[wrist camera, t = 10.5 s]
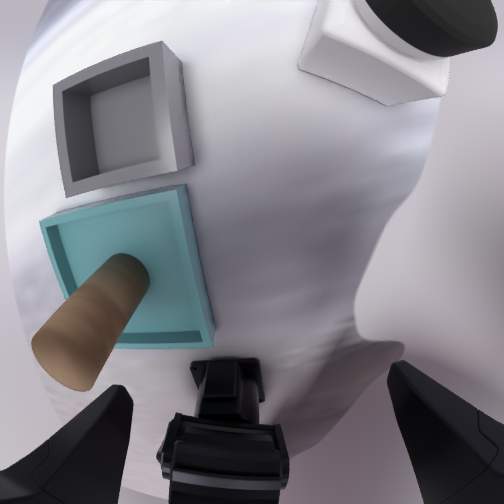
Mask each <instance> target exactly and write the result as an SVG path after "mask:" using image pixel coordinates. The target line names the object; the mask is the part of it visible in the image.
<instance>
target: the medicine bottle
mask: <svg viewBox="0 0 504 504" xmlns="http://www.w3.org/2000/svg"><path fill="white" fill-rule="evenodd" d="M497 28H498V23H497V17H496V13H495V10H494V7H493V5H492V2H491V0H318V3H317V6H316V9H315V12H314V15H313V19H312V22H311V25H310V28H309V31H308V34H307V37H306V40H305V43H304V47H303V50H302V53H301V56H300V59H299V62H298V67H299V69H301V70H303V71H306V72H309V73H312V74H315V75H318V76H320V77H323V78H326V79H328V80H331V81H333V82H336V83H338V84H341V85H343V86H346V87H348V88H350V89H353V90H355V91H357V92H359V93H362V94H364V95H366V96H368V97H370V98H372V99H374V100H376V101H378V102H380V103H382V104H384V105H387V106H391V105H396V104H401V103H406V102H411V101H417V100H423V99H429V98H436V97H442V96H444V95H446V93H447V87H448V80H449V73H450V66H451V57H452V56H454V55H458V54H461V53H465V52H469V51H473V50H477V49H481V48H485V47H488V46H490V45H491V44H492V43H493V42H494V41H495V38H496V34H497Z"/></svg>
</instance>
